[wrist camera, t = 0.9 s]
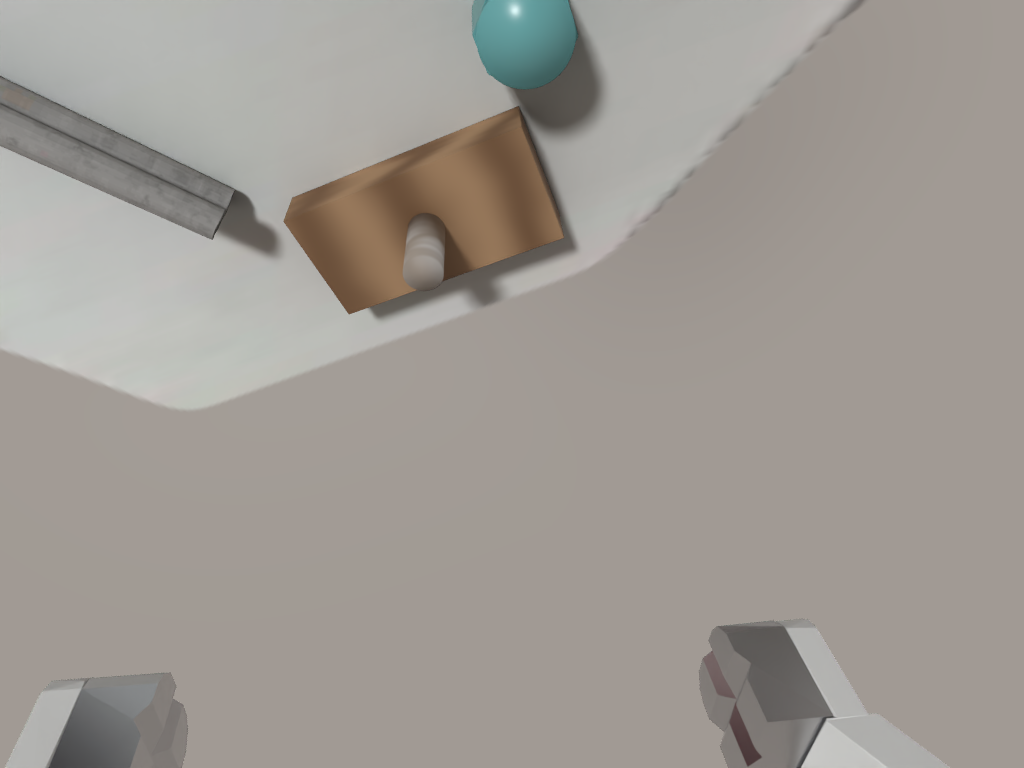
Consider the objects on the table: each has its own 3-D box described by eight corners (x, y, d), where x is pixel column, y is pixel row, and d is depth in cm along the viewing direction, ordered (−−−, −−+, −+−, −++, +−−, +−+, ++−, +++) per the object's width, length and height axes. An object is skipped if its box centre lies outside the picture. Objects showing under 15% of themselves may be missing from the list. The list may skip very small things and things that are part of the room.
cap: (548, -59, 36) (557, -36, 32) (576, 35, 39) (587, 67, 36) (460, -20, 37) (460, 7, 33) (495, 69, 40) (498, 103, 37)
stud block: (518, 106, 42) (527, 166, 36) (559, 214, 47) (572, 281, 41) (292, 197, 45) (266, 266, 40) (353, 289, 51) (339, 361, 45)
